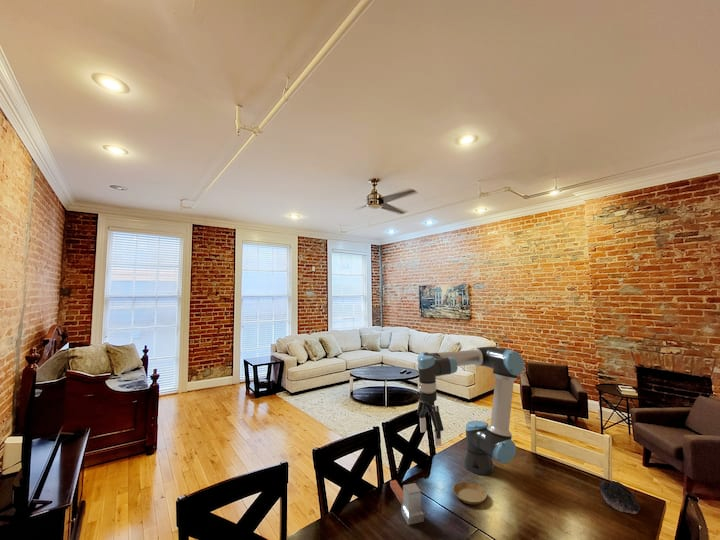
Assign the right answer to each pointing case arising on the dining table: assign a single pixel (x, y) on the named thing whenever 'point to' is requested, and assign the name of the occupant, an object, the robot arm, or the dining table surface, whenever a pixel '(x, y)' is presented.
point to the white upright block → (412, 499)
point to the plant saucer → (469, 492)
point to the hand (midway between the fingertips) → (430, 438)
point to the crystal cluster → (619, 497)
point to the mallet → (409, 519)
